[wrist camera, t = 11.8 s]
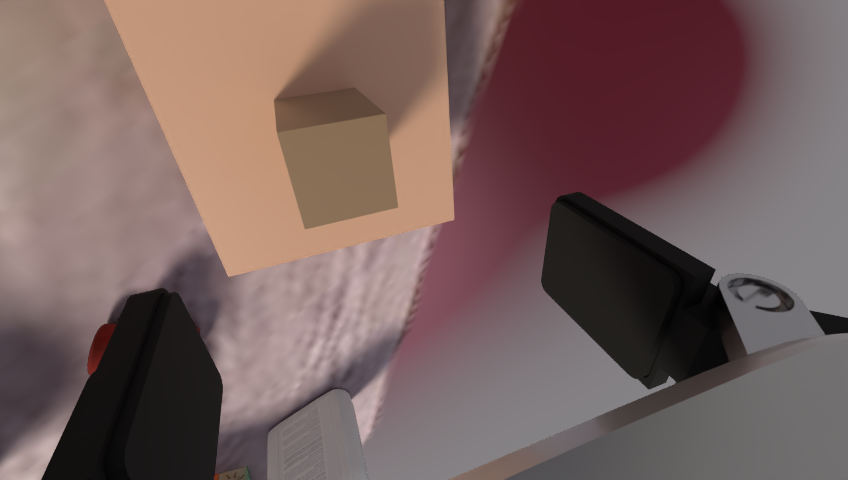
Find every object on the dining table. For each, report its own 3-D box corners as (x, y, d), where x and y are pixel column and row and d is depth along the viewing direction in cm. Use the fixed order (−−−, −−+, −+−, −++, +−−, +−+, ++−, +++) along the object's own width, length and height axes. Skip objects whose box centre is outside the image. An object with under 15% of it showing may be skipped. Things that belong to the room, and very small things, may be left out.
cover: (100, -18, 17) (6, -35, 11) (437, -42, 21) (510, -65, 15) (229, 271, 25) (217, 354, 19) (451, 216, 29) (500, 270, 23)
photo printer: (285, 446, 46) (290, 568, 36) (260, 432, 43) (258, 559, 33) (357, 397, 46) (383, 505, 36) (336, 381, 43) (358, 492, 33)
